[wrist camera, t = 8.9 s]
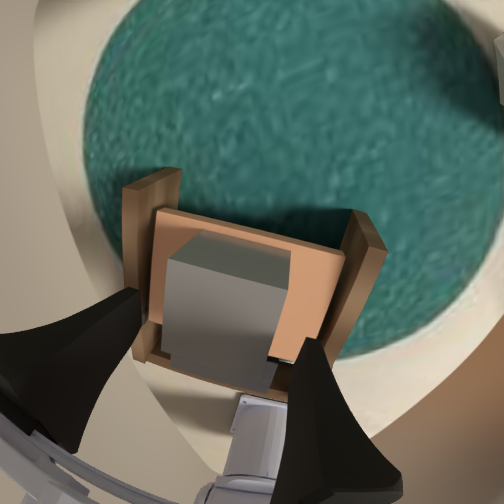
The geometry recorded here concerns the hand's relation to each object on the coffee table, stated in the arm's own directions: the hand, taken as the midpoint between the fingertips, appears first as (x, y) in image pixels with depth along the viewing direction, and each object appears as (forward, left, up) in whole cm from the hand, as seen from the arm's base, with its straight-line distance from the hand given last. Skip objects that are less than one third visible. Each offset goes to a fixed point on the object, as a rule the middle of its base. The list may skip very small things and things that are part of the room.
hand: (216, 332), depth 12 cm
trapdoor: (-3, 0, -6) cm, 7 cm away
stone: (0, 0, -4) cm, 4 cm away
